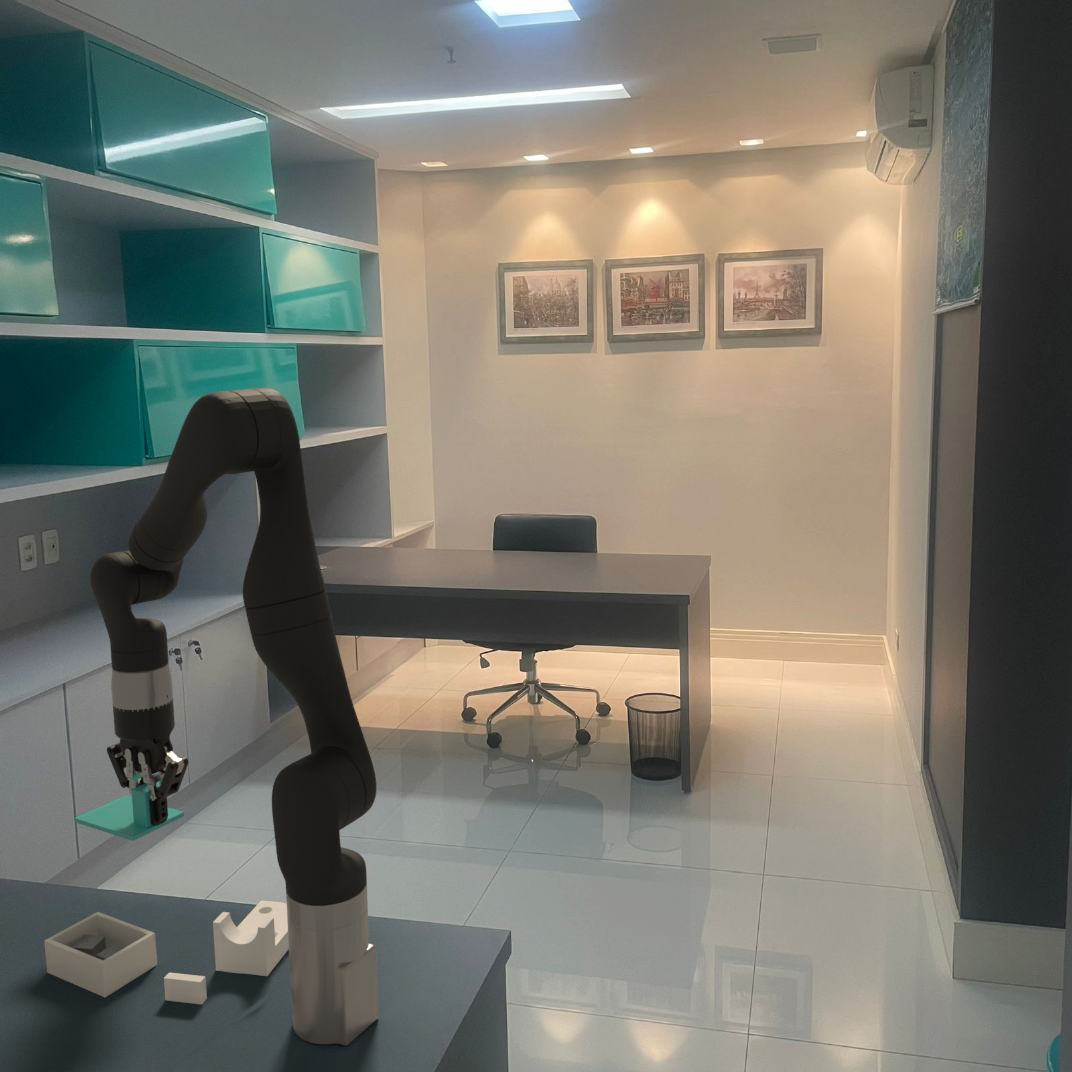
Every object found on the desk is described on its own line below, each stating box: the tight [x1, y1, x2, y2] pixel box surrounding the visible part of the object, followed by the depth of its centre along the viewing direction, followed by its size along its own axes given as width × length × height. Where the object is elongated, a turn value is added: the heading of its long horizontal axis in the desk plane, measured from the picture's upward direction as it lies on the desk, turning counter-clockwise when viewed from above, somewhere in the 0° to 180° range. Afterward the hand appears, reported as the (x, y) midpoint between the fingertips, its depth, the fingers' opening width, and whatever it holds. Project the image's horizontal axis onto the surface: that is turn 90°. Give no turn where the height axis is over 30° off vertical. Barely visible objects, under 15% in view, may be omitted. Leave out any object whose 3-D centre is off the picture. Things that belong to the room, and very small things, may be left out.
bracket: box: [212, 900, 289, 977], centre depth 139 cm, size 13×7×8 cm, turn 168°
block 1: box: [71, 935, 106, 957], centre depth 136 cm, size 3×3×3 cm
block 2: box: [96, 944, 125, 960], centre depth 133 cm, size 3×3×3 cm
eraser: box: [163, 972, 208, 1005], centre depth 128 cm, size 1×5×4 cm, turn 79°
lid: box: [74, 781, 185, 842], centre depth 144 cm, size 12×9×6 cm
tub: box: [43, 911, 158, 998], centre depth 135 cm, size 11×8×5 cm
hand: (151, 820), depth 142 cm, fingers closed on lid, 2 cm apart
